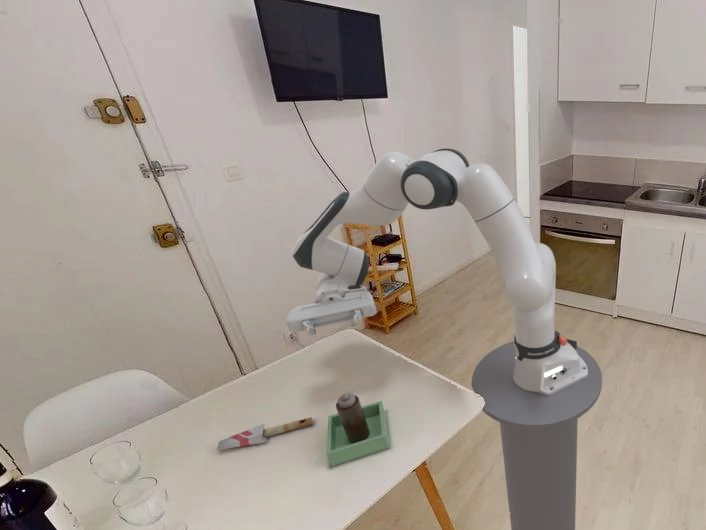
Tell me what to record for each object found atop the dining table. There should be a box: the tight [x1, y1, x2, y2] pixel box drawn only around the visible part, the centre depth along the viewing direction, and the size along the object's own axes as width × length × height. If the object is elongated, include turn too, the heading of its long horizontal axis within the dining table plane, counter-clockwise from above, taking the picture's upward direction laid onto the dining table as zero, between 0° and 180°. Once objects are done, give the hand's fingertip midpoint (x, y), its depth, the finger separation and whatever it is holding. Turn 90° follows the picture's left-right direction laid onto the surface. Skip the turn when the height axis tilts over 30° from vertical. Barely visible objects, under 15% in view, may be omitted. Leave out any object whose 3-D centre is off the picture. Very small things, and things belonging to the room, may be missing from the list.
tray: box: [326, 400, 390, 467], centre depth 99 cm, size 13×13×4 cm
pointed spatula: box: [216, 416, 314, 451], centre depth 100 cm, size 4×3×20 cm
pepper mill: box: [335, 392, 370, 444], centre depth 96 cm, size 5×5×13 cm
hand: (332, 328), depth 97 cm, fingers open, 8 cm apart
